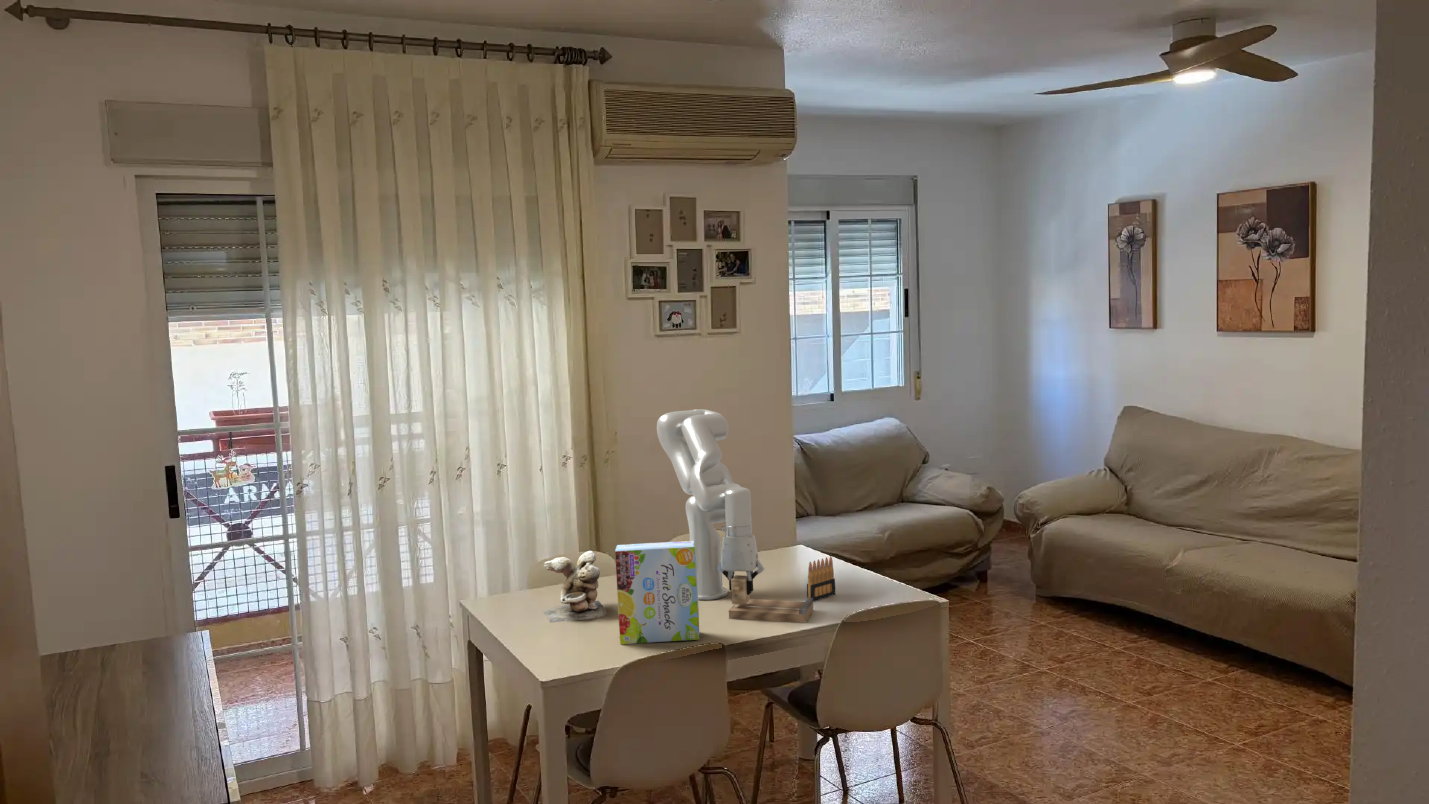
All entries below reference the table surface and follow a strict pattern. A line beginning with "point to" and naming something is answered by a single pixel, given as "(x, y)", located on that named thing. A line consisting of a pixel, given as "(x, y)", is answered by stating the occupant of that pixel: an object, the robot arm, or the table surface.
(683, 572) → the snack box
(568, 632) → the table surface
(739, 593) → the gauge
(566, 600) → the cherub figurine
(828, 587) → the ammunition clip
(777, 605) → the board
